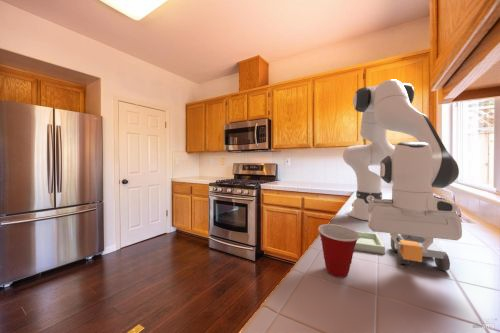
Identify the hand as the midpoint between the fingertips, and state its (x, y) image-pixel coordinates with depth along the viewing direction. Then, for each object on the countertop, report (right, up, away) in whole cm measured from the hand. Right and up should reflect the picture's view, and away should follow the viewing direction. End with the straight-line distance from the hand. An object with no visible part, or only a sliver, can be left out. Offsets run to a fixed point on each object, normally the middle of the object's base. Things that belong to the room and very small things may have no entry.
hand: (410, 250), depth 57 cm
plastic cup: (-19, -7, +1) cm, 21 cm away
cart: (+8, -6, +8) cm, 13 cm away
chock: (0, -2, 0) cm, 2 cm away
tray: (-2, -6, +20) cm, 21 cm away
